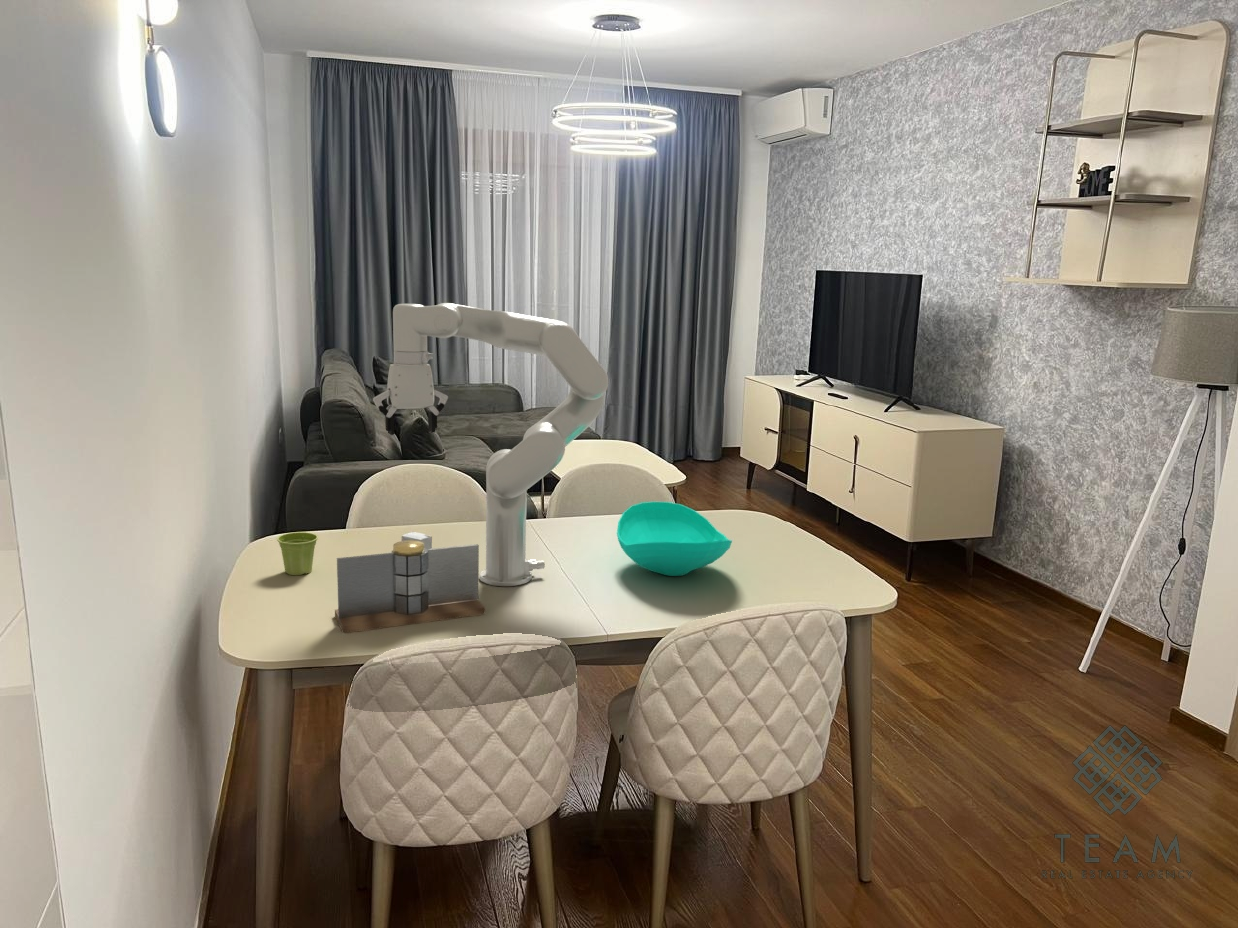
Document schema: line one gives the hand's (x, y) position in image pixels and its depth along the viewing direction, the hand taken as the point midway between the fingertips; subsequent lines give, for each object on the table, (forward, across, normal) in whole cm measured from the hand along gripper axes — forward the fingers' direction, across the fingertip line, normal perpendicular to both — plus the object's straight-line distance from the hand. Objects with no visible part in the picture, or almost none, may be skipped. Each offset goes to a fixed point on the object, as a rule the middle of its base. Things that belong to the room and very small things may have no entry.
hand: (411, 432), depth 218 cm
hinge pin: (+33, +8, +22) cm, 41 cm away
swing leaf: (+34, +2, +23) cm, 41 cm away
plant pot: (+36, +23, -16) cm, 46 cm away
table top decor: (+36, -61, +19) cm, 73 cm away
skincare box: (+36, 0, +4) cm, 36 cm away
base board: (+36, +8, +22) cm, 43 cm away
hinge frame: (+34, +13, +22) cm, 43 cm away
